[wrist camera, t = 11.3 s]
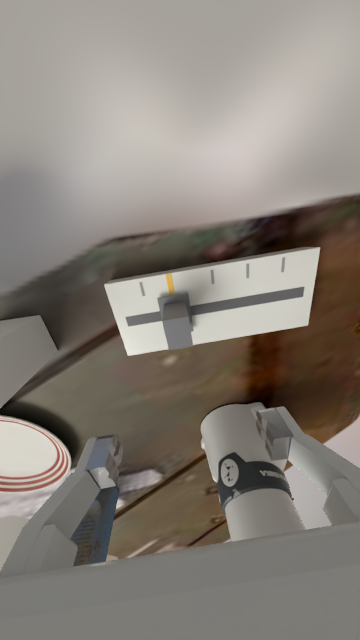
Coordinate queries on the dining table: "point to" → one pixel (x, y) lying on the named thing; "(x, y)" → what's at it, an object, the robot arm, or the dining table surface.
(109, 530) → the bottle
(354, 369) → the dining table surface
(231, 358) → the dining table surface
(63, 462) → the dinner plate
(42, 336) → the milk carton
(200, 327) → the console board
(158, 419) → the dining table surface
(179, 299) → the fader tab
